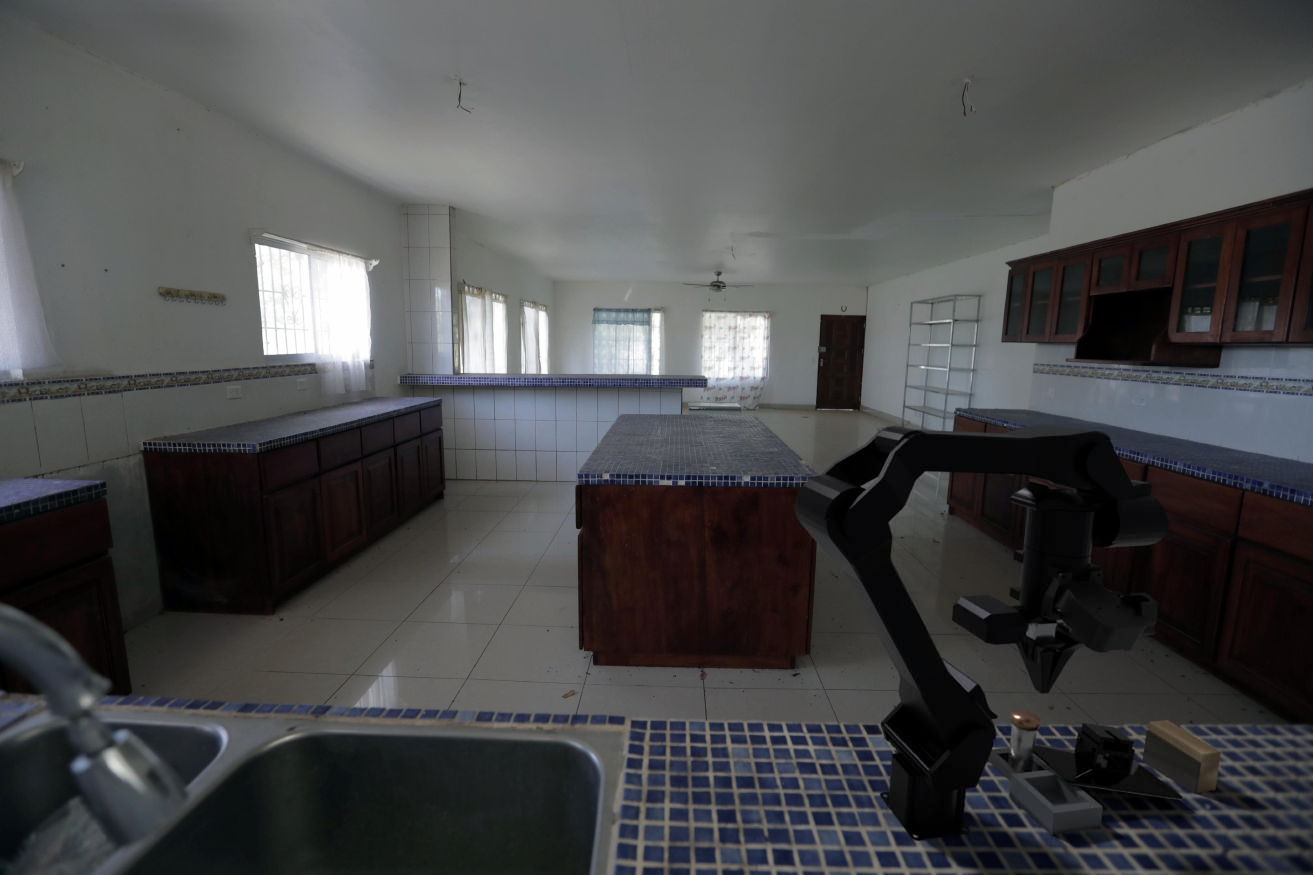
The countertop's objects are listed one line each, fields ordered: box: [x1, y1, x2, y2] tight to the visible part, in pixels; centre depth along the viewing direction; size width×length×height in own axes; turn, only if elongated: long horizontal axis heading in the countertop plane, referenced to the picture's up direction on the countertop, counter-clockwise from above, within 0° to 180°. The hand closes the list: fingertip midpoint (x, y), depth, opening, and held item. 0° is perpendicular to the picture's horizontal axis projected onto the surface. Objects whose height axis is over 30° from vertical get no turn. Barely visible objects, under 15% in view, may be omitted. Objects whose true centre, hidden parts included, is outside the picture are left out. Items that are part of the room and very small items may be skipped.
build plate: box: [1034, 722, 1183, 801], centre depth 66 cm, size 12×7×5 cm, turn 89°
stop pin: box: [1007, 708, 1041, 773], centre depth 68 cm, size 3×3×7 cm
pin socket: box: [987, 747, 1051, 782], centre depth 68 cm, size 5×5×1 cm
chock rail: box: [1142, 719, 1222, 794], centre depth 67 cm, size 3×6×5 cm, turn 10°
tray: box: [1008, 770, 1104, 836], centre depth 62 cm, size 6×6×2 cm
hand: (1041, 691), depth 63 cm, fingers closed
